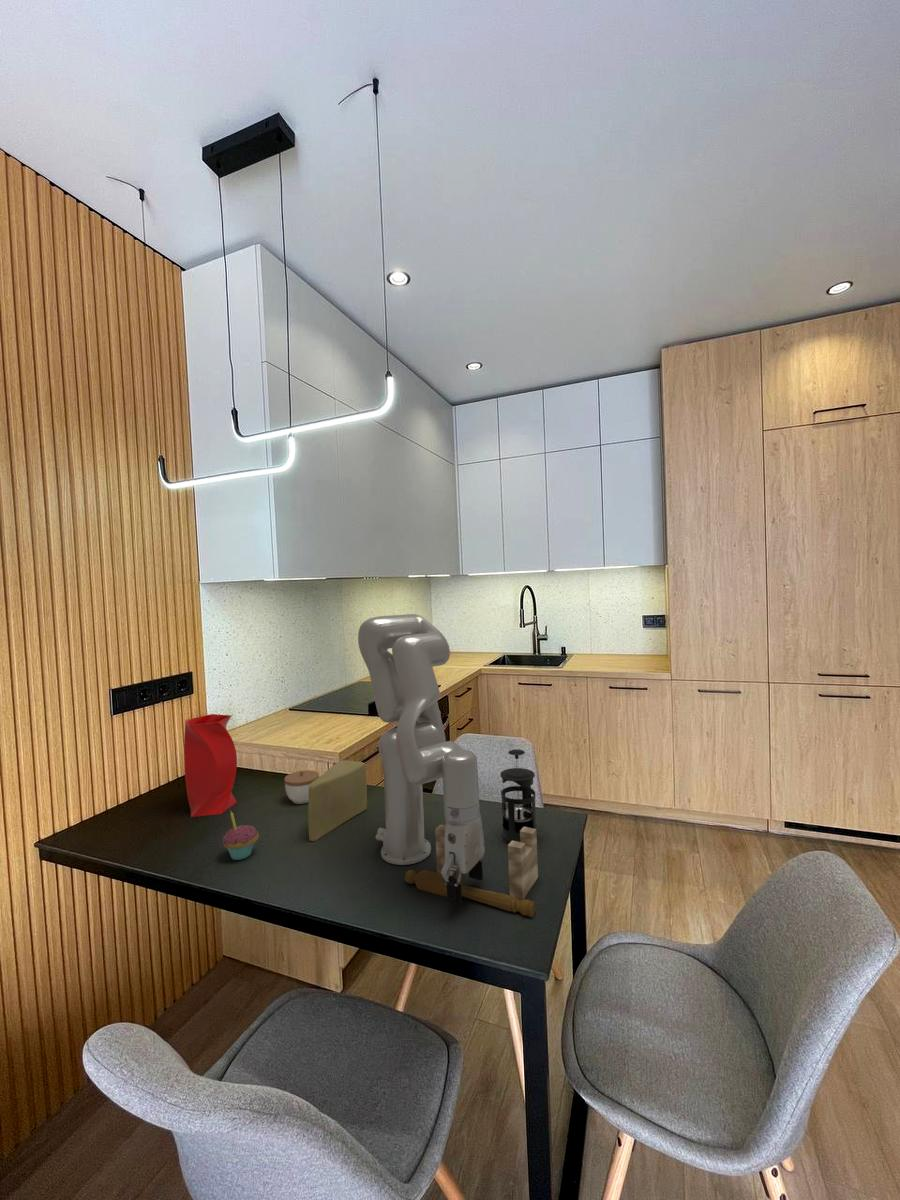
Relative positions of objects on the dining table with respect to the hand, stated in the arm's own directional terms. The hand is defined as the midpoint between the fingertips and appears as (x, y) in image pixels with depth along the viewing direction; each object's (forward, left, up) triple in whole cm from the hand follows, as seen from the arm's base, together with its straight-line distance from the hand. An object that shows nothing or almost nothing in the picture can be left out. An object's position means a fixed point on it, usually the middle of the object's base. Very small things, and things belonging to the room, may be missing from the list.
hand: (465, 890), depth 108 cm
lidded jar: (-71, +23, -2) cm, 75 cm away
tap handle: (0, 0, -2) cm, 2 cm away
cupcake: (-60, -9, -2) cm, 61 cm away
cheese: (-50, +15, -2) cm, 52 cm away
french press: (+1, +30, -2) cm, 30 cm away
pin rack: (+1, +9, -2) cm, 9 cm away
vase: (-94, +6, -2) cm, 95 cm away
